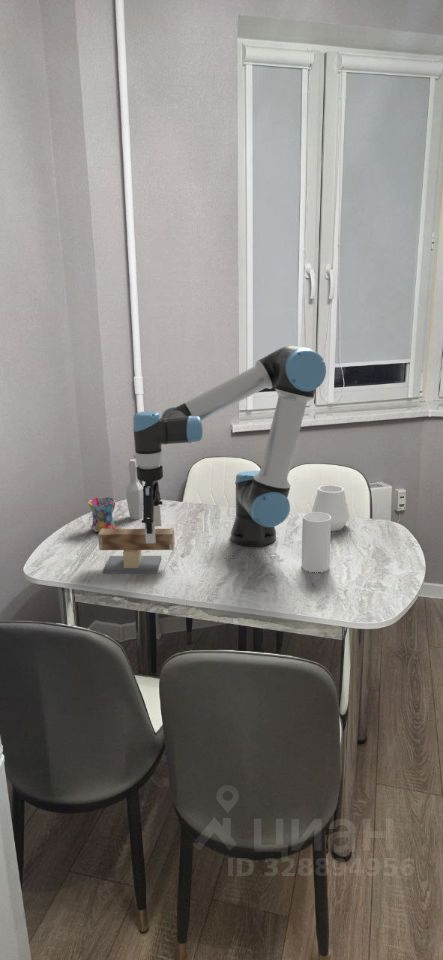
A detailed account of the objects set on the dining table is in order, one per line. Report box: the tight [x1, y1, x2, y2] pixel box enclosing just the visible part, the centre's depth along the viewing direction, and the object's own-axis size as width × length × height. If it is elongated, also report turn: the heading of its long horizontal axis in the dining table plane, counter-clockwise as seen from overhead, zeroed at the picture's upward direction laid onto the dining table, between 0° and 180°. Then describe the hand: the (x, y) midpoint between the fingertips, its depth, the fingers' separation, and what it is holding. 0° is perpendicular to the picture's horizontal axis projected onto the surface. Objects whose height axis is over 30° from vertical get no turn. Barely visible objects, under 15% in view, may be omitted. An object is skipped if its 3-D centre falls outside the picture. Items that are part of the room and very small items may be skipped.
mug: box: [87, 496, 116, 533], centre depth 216 cm, size 12×9×11 cm
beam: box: [97, 527, 175, 551], centre depth 184 cm, size 22×5×5 cm, turn 88°
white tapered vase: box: [311, 484, 350, 532], centre depth 214 cm, size 13×13×14 cm
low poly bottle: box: [125, 458, 143, 520], centre depth 225 cm, size 6×6×22 cm
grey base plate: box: [102, 550, 162, 574], centre depth 186 cm, size 16×10×6 cm, turn 88°
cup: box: [301, 511, 332, 574], centre depth 182 cm, size 8×8×16 cm
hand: (153, 534), depth 183 cm, fingers open, 13 cm apart
